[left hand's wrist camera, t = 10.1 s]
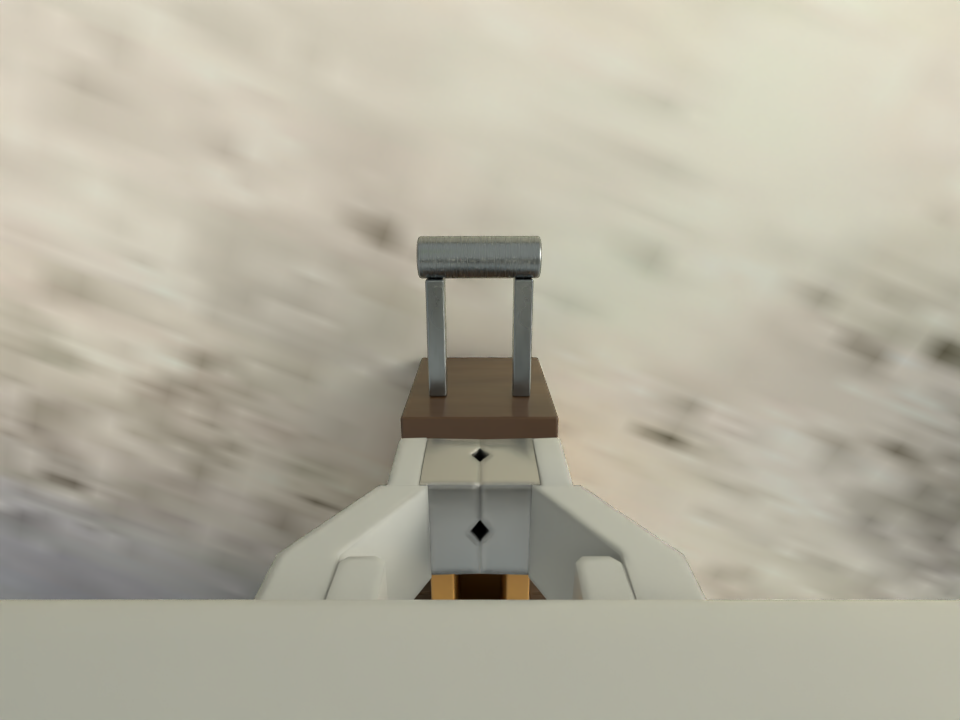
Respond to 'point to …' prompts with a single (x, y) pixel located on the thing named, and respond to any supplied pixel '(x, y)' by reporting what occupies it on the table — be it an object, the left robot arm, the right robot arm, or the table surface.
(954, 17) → the table surface
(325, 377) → the table surface
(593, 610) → the left robot arm
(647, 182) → the table surface
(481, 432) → the drawer
